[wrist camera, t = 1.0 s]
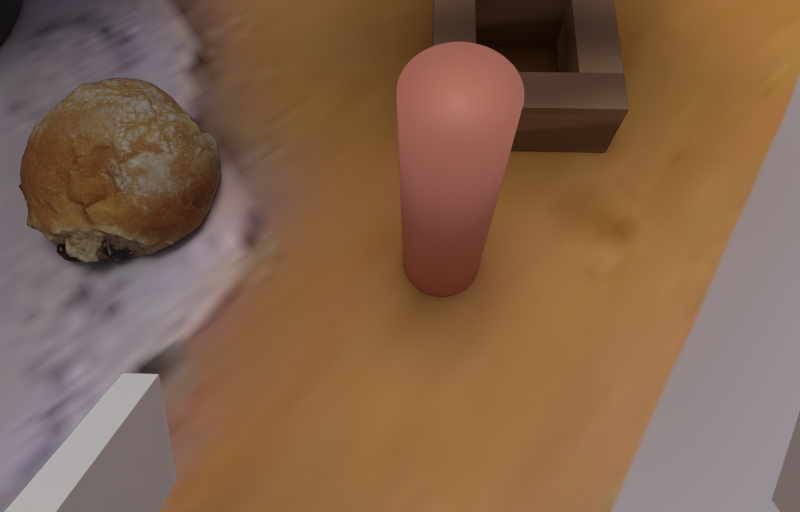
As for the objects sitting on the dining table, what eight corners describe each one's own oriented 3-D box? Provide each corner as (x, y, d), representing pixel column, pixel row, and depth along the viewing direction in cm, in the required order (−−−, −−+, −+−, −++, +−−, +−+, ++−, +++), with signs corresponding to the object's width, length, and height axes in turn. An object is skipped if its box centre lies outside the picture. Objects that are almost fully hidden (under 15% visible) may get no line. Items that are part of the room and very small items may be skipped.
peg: (392, 243, 32) (376, 66, 19) (458, 216, 32) (489, 26, 19) (422, 308, 30) (428, 164, 17) (491, 279, 31) (547, 118, 18)
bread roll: (254, 226, 36) (266, 121, 31) (103, 317, 30) (82, 204, 24) (149, 141, 39) (142, 30, 33) (-12, 208, 32) (-55, 82, 27)
